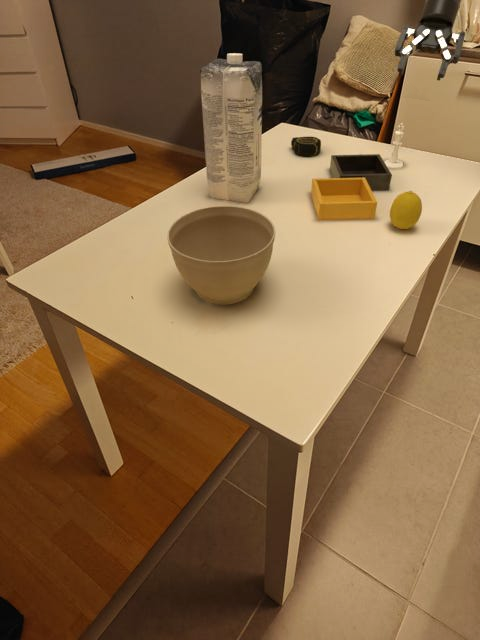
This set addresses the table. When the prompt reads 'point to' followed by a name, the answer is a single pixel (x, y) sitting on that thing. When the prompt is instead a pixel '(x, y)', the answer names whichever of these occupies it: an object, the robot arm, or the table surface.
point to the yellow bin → (343, 199)
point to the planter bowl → (222, 251)
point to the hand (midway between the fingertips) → (419, 75)
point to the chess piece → (396, 150)
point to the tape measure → (306, 146)
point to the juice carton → (232, 127)
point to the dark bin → (362, 169)
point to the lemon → (406, 210)
